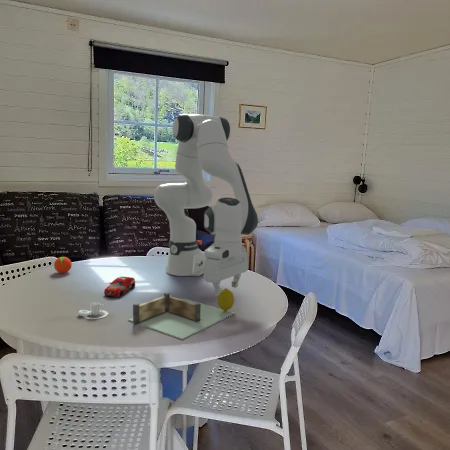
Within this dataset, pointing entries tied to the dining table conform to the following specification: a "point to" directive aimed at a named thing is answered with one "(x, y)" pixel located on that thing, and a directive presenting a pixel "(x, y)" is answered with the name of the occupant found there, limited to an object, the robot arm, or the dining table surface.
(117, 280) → the race car
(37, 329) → the dining table surface
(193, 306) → the fence panel
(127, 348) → the dining table surface
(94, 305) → the teacup and saucer
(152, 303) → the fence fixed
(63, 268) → the clementine
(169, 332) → the mat
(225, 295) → the lemon
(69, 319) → the dining table surface
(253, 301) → the dining table surface
